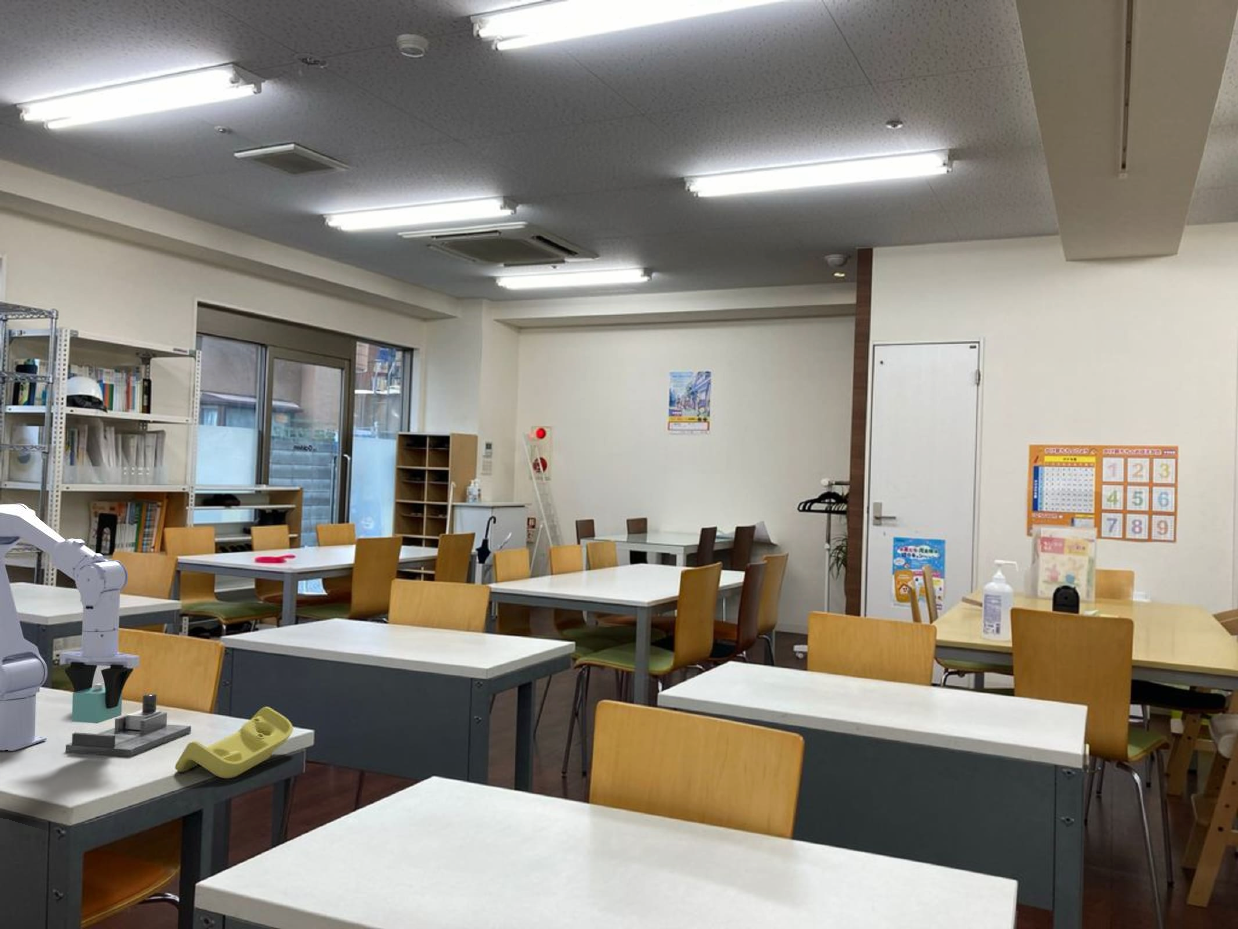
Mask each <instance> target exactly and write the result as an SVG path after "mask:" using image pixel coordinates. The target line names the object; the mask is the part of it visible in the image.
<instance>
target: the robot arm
mask: <svg viewBox="0 0 1238 929" xmlns="http://www.w3.org/2000/svg"><path fill="white" fill-rule="evenodd" d="M21 540H24V541H26V542H27V543H29V544H31V545H32V546H34V547H35V548H38V549H39V550H41V551H43V552H45V553H46V554H47V555H49V556H50V558H49V559H50V560H49V561H50V563H51V565H52V566H54V567H55V568H56V569H58V570H59V571H61V572H62V573H64V574H65V575H66V576H68V577H69V578H71V579H72V580H73V581H74V582H75V586H76V588H77V591H78V593H79V594H80V602H81V605H82V623H81V624H82V629H81V630H82V631H81V651H71V650H69V651H68V650H67V651H65V652H64V651H63V652H60V655H59V656H60V658H59V659H60V660H59V665H67V664H70V665H69V667H65V668H64V673H65V675H67V677H68V679H69V681H70V682H71V685H72V687H73V690H74V692H78V691H81V690H85V689H88V688H92V684H93V679H94V675H95V671H96V668H97V665H101V666H110V668H107V669H103V670H101V673H102V676H103V679H104V684H105V702H106V708H107V709H111V708H114V707H117V706H118V703H119V699H120V696H121V693H122V694H123V691H124V690H123V689H124V687H125V685H126V682H127V681H128V679H129V677H130V676H131V674H132V672H133V671H134V668H138V667H140V655H135V654H128V653H122V652H119V633H120V632H119V631H120V629H119V628H120V604H121V603H120V602H121V600H120V599H121V598H120V597H121V591H122V590H124V589H125V588H126V586H127V584H128V580H129V573H128V570H127V568H126V566H125V565H124V564H123V563H122V562H121V561H120V560H118V559H110V560H109V559H108V560H107V559H105V558H104V555H102V554H101V553H96V552H95V551H94V550H93V549H91V548H89V547H88V546H86V545H85V544H86V543H85V541H84V540H83V539H80V538H79V539H75V538H69V539H68V538H67V539H64V538H63V537H62V536H61V535H59V534H58V533H57V532H55V530H53V529H52V528H50V527H49V526H48V525H47V524H45V523H44V522H43V521H42V520H40V519H39V518H38V517H37V515H36V511H35V510H33V509H31V508H29V507H28V506H27V505H25V504H23V503H20V502H19V503H18V502H17V503H13V504H10V503H9V504H7V503H6V504H3V503H2V504H0V751H5V750H8V751H9V752H15V751H17V750H20V749H23V748H27V747H29V746H32V745H35V744H38V743H41V742H44V741H46V740H47V737H46V736H36V715H37V714H36V713H37V712H36V711H37V710H36V709H37V693H40V690H41V688H40V687H42V686H43V685H44V684H45V682H46V681H47V678H48V666H47V664H46V662H45V660H44V658H42V656H41V655H40V652H39V648H38V646H37V645H35V644H34V643H32V642H30V641H29V640H27V639H26V638H24V635H23V629H22V627H21V623H20V618H19V615H18V611H17V608H16V602H15V600H14V595H13V592H12V587H11V583H10V580H9V577H8V576H9V575H8V572H7V571H8V570H7V569H6V564H5V561H4V560H5V559H4V557H5V556H6V554H7V553H8V551H9V552H10V551H11V550H12V549H13V548H14V547H15V546H16V545H17V544H18V543H19V542H20V541H21Z"/></svg>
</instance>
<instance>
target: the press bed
mask: <svg viewBox="0 0 1238 929" xmlns="http://www.w3.org/2000/svg"><path fill="white" fill-rule="evenodd" d="M126 715H127V714H125V715H123V716H122V715H121V716H118V717H115V718H114V727H112V728H110V729H108V730H105V731H102V732H99V733H86V732H78V731H77V732H74V733H71V742H70V743H68V744H65V752H66V753H67V752H68V753H80V754H89V755H90V754H92V755H103V756H115V757H116V756H117V757H133V756H136V755H138V754H140V753H144V752H145V751H148V750H150V749H153V748H155V746H156V747H158V746H160V745H163V744H165V742H166V743H168V742H170V740H171V741H173V740H175V738H176V739H178V738H180V737H183V736H185V735H188V734H190V733H192V725H180V724H170V723H169V724H168V722H167V719H168V713H167V712H163V711H162V713H160V714H157V715H155V716H152V717H149V718H146V719H143V720H141V725H140V730H135V729H125V725H126ZM189 732H190V733H189ZM182 735H183V736H182ZM179 736H180V737H179ZM172 739H173V740H172ZM162 743H163V744H162ZM152 747H153V748H152Z"/></svg>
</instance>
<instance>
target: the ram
mask: <svg viewBox="0 0 1238 929" xmlns="http://www.w3.org/2000/svg"><path fill="white" fill-rule="evenodd" d="M157 700H158V699H157V694H156V693H146V694H143V695H142V708H141V709H140V710H137V711H133V712H130V713H128V714H125V715H126V725H125V729H135V730H140V725H141V720H143V719H146V718H149V717H152V716H155V715H157V714H160V713H163V710H161V709H157Z"/></svg>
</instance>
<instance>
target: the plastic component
mask: <svg viewBox="0 0 1238 929" xmlns="http://www.w3.org/2000/svg"><path fill="white" fill-rule="evenodd" d="M293 731H294V726H293V724H292V722H291V721H290V720H289V718H287V717H286V716H284V715H283V714H281V713H280V712H278V711H276V710H274V709H273V708H271V707H270V706H263V707H262V708H260V709H259V710H258V711H257V712H256V713H255V714H254V715H253V716H252V717H251V719H249V720H248V721H246V722H244V724H243V725H241V728H240V729H239V730H238V731H236V732H235V733H232V734H231V735H229V736H226V737H224V738H223V739H221V740H218V741H217V742H215V743H213V744H211V745H209V746H205V745H203V744H202V743H200V742H198V741H196V740H195V741H194V740H193V741H191V742H188V744H187V745H186V747H185V749H184V750H183V752H182V754H181V755H180V756H179V758H178V760H177V762H176V763H175V767H174V769H175V770H176V771H178V772H179V773H184V772H186V770H187V771H189V770H191V769H193V768H194V766H195V767H197V766H199V765H200V766H202V768H204V769H206V770H207V771H209V772H210V773H212V774H214V775H215V776H216V777H219V778H222V779H231V778H235V777H238V776H239V775H241V774H243V773H245V772H246V771H248V770H250V769H252V768H253V767H255V766H257V765H259V764H260V763H262V762H264V761H266V760H268V759H269V758H270V757H271V756H272V754H273V752H275V750H276V749H278V748H280V747H281V746H283V745H284V744H285V743H286V741H287V740H288V739H289V738H290V736H291V735H292V733H293ZM198 764H199V765H198ZM196 765H197V766H196ZM192 767H193V768H192ZM190 768H191V769H190ZM188 769H189V770H188ZM183 771H184V772H183Z"/></svg>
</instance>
